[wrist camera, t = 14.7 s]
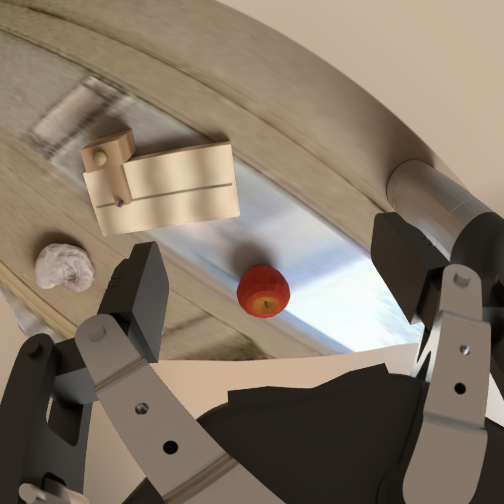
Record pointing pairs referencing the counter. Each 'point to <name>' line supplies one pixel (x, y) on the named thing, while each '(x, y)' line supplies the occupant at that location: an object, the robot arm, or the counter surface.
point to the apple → (263, 291)
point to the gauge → (112, 162)
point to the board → (168, 189)
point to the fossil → (64, 267)
